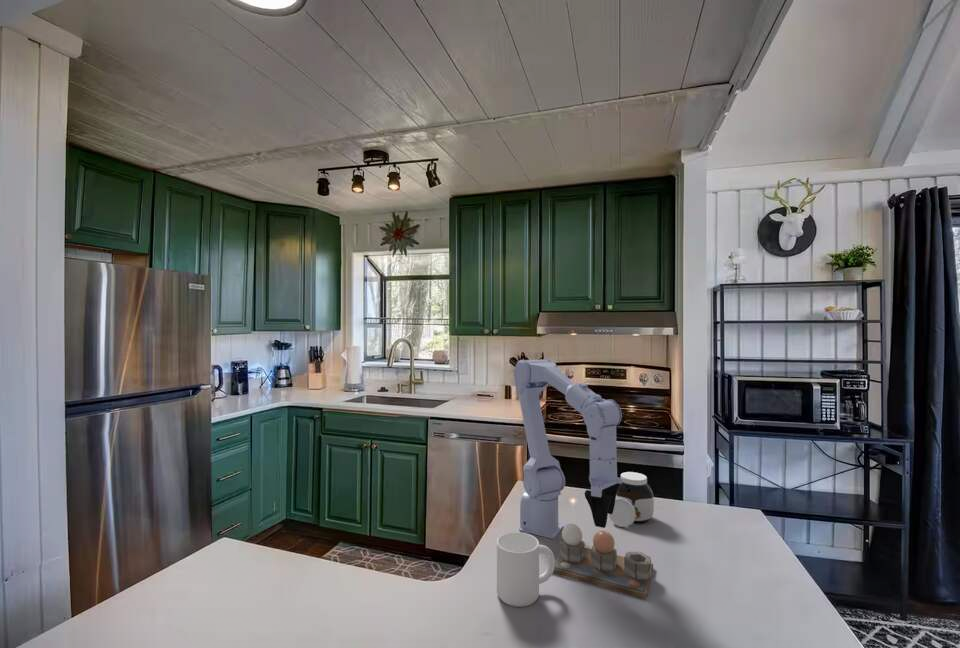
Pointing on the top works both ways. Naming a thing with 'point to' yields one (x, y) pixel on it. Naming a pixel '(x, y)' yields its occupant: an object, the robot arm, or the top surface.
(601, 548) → the terracotta ball
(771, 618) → the top surface
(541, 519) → the robot arm
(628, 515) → the spread jar
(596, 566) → the brown egg holder tray
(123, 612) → the top surface
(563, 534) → the cream ball
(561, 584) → the top surface
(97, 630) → the top surface
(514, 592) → the mug
